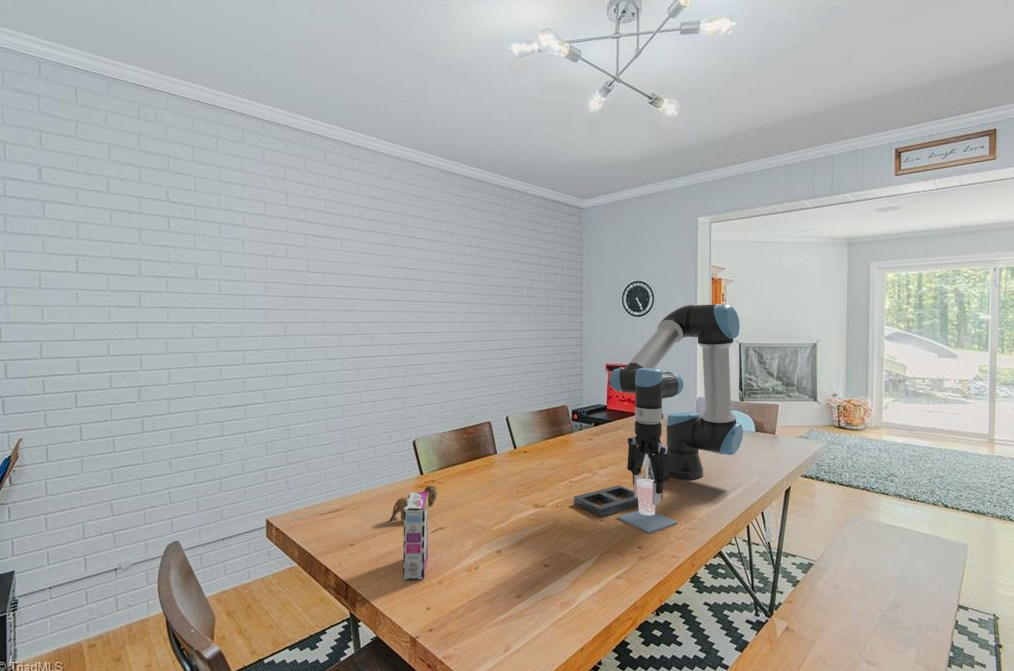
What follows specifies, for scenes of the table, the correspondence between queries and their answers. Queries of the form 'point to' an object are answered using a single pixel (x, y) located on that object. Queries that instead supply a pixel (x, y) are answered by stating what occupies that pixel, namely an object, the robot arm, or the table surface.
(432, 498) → the lion figurine
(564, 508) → the table surface
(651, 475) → the silver metal tumbler
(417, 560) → the candy bar box
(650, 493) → the beverage cup
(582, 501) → the dark grey slotted frame
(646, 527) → the slate mat
